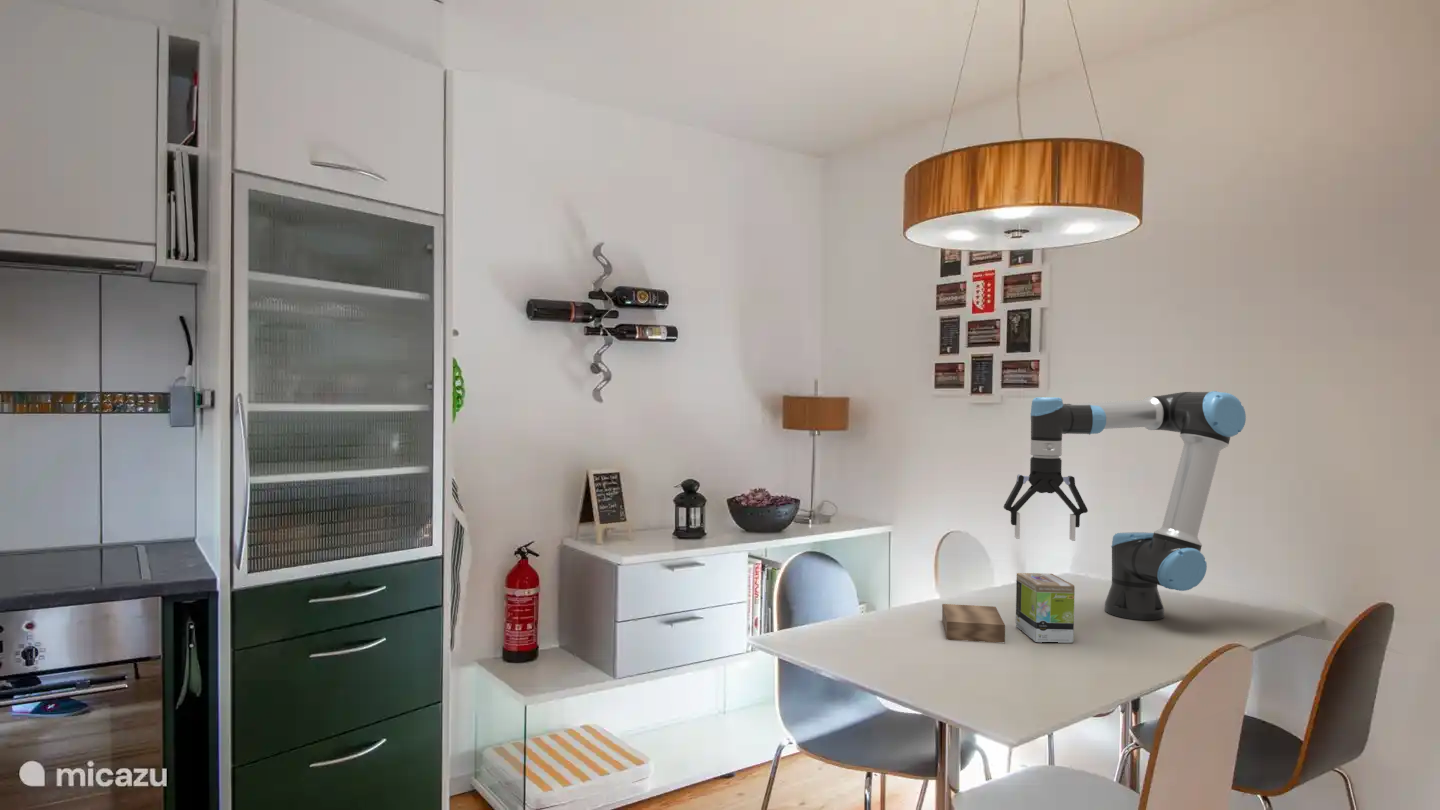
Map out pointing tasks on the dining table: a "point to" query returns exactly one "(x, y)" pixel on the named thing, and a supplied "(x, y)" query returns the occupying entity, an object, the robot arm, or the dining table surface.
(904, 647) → the dining table surface
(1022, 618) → the tea box
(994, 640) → the walnut block
